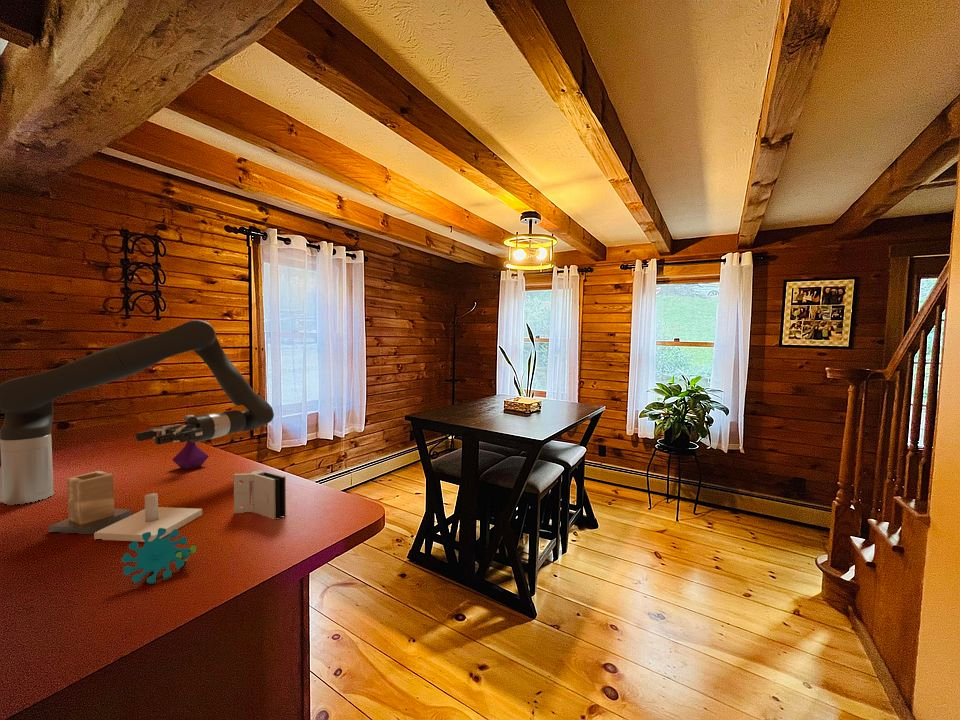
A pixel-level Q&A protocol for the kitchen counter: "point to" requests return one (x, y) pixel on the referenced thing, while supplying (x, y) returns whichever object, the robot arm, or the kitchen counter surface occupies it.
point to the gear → (157, 555)
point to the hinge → (260, 493)
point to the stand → (91, 527)
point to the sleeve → (90, 497)
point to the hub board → (148, 522)
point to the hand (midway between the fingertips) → (145, 439)
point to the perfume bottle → (190, 455)
